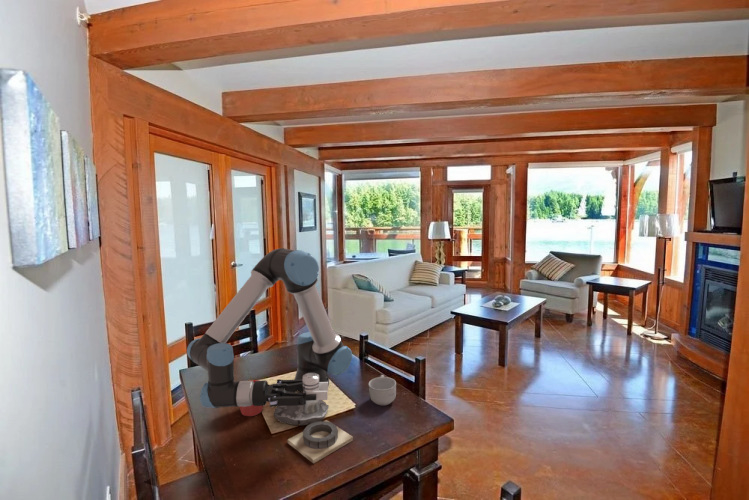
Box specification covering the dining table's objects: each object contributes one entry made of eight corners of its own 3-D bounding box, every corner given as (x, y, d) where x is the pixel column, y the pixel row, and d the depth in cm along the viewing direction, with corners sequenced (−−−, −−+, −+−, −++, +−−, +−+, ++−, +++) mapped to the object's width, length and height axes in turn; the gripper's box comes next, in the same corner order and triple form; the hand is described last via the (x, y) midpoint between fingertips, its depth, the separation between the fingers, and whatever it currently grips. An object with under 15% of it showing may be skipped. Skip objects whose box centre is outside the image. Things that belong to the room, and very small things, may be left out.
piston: (299, 408, 120) (299, 376, 118) (313, 403, 123) (312, 371, 122) (309, 415, 116) (308, 381, 115) (322, 409, 120) (322, 376, 118)
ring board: (287, 442, 121) (287, 432, 120) (326, 422, 132) (326, 413, 132) (313, 463, 111) (313, 452, 111) (353, 440, 123) (353, 429, 122)
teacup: (393, 410, 141) (393, 390, 140) (365, 407, 143) (365, 387, 142) (398, 392, 155) (398, 374, 154) (373, 389, 157) (373, 371, 156)
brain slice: (330, 402, 147) (330, 395, 146) (326, 428, 130) (326, 420, 130) (280, 402, 146) (280, 395, 146) (269, 428, 129) (269, 420, 129)
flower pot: (272, 406, 143) (272, 382, 142) (254, 421, 133) (254, 395, 132) (249, 401, 147) (249, 377, 146) (230, 415, 136) (229, 390, 135)
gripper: (260, 390, 127) (328, 388, 129) (246, 420, 109) (326, 417, 111) (259, 369, 126) (328, 367, 128) (245, 396, 108) (326, 393, 110)
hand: (327, 390), depth 119 cm, fingers closed on piston, 5 cm apart
